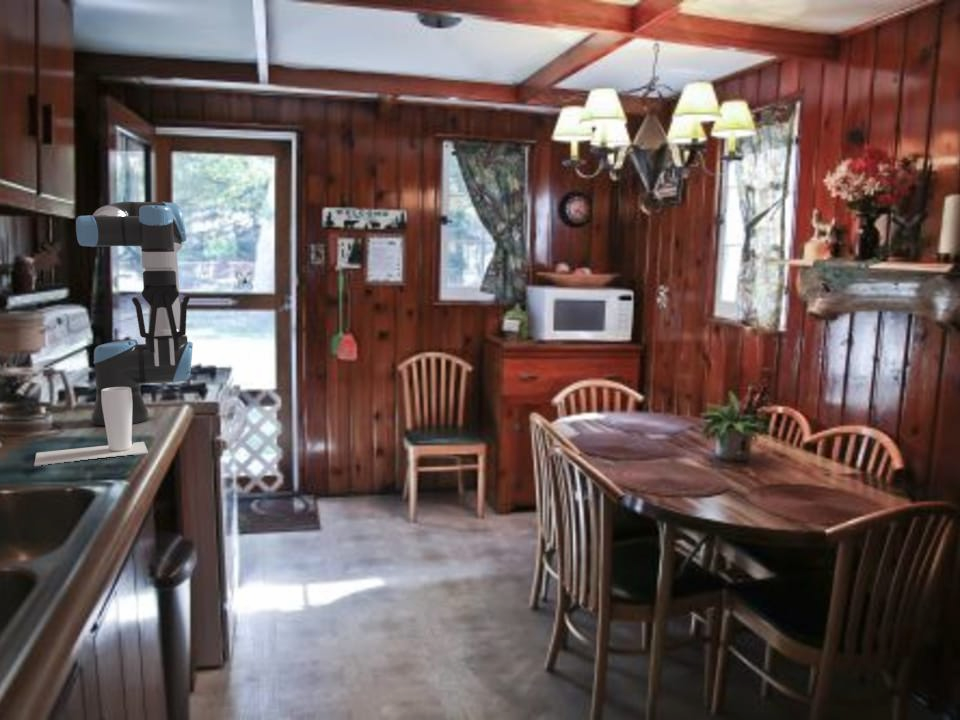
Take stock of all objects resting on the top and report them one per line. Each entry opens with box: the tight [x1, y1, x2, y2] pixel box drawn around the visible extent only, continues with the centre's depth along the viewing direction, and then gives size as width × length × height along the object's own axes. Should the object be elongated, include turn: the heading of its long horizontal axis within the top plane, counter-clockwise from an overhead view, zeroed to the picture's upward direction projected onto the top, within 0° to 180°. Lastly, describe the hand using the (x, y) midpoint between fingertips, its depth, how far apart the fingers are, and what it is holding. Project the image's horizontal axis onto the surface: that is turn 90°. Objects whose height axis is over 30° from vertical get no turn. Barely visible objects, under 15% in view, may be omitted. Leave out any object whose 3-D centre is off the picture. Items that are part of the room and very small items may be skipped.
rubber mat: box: [33, 441, 149, 467], centre depth 190 cm, size 24×13×1 cm, turn 117°
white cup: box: [101, 387, 133, 451], centre depth 192 cm, size 7×7×15 cm
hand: (164, 364), depth 195 cm, fingers open, 3 cm apart
